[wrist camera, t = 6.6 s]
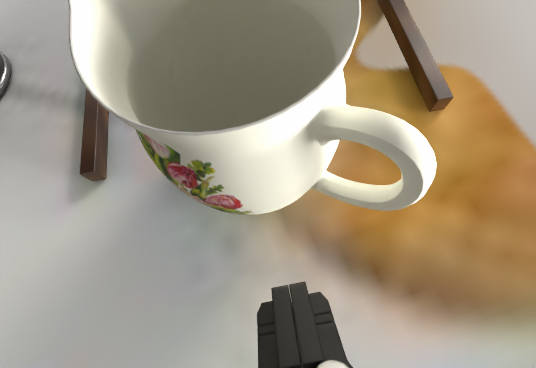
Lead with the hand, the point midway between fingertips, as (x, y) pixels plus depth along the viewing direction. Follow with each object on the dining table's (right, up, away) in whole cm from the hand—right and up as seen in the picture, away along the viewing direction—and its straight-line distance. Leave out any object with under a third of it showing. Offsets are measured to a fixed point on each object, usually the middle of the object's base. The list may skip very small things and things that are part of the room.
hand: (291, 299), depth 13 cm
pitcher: (-1, +6, +10) cm, 12 cm away
